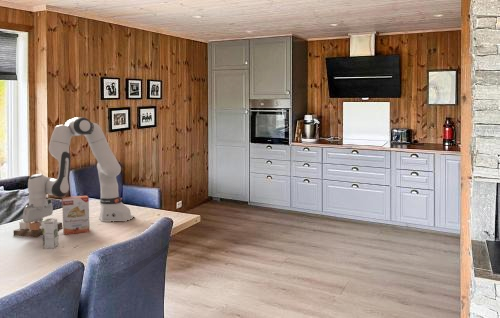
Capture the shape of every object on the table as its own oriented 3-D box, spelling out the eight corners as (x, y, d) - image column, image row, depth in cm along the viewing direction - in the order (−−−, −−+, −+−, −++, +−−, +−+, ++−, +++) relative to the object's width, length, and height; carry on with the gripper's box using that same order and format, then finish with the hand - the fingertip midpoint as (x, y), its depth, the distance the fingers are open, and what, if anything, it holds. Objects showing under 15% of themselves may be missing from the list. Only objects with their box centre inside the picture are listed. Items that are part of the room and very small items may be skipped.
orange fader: (39, 228, 249) (39, 221, 248) (36, 230, 246) (35, 223, 245) (33, 228, 250) (33, 221, 249) (29, 229, 247) (29, 222, 246)
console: (62, 227, 265) (62, 222, 264) (36, 237, 244) (36, 232, 243) (41, 225, 268) (40, 220, 268) (13, 235, 247) (13, 230, 247)
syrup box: (47, 245, 230) (45, 218, 228) (58, 245, 231) (57, 218, 229) (43, 248, 224) (41, 221, 223) (54, 248, 225) (53, 221, 223)
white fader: (29, 228, 251) (29, 221, 250) (25, 229, 248) (25, 222, 247) (23, 227, 252) (23, 220, 251) (19, 228, 249) (19, 221, 248)
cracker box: (64, 235, 249) (62, 199, 246) (63, 232, 254) (61, 197, 251) (90, 232, 255) (88, 196, 253) (88, 229, 260) (87, 194, 258)
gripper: (28, 207, 239) (30, 231, 240) (54, 199, 258) (55, 222, 260) (19, 206, 240) (20, 230, 242) (45, 198, 260) (46, 221, 262)
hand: (38, 226), depth 251 cm, fingers closed
